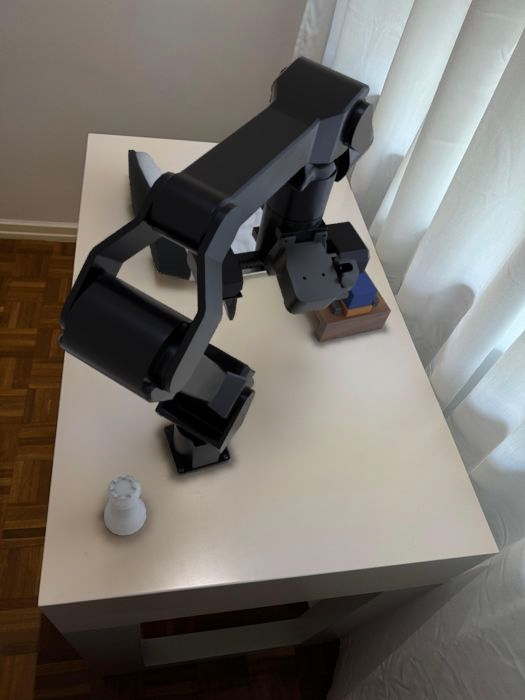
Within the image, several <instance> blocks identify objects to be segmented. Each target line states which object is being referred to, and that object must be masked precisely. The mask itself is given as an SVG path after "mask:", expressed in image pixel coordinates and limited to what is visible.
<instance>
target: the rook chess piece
mask: <svg viewBox="0 0 525 700" xmlns="http://www.w3.org/2000/svg"><path fill="white" fill-rule="evenodd" d="M140 495H141V485H140V482H139V481H138V480H137V479H136V478H135V477H134V476H130V475H128V474H120V475H118V476H116V477H114V478H112V480H110V481H109V483H108V485H107V488H106V496H107V499H108V502H107V503H106V505H105V508H104V514H103V521H104V524H105V526H106V528H107V529H108V530H109V531H110V532H111V533H112V534H116V535H118V536H130V535H133V534H135V533H137V532H138V531H140V529H141V528H142V527H143V526H144V524H145V521H146V519H147V509H146V505H145V503H144V501H143V499H142V498H140Z"/></svg>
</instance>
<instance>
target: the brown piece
mask: <svg viewBox="0 0 525 700" xmlns="http://www.w3.org/2000/svg"><path fill="white" fill-rule="evenodd" d="M365 272H366V273H367V271H366V270H365ZM367 275H368V276H369V274H368V273H367ZM369 278H370V280H371V281H372V283H373V284H374V282H373V280H372V279H371V277H370V276H369ZM374 286H375V287H376V289H377V290H378V288H377V286H376V285H375V284H374ZM371 305H372V309H371V311H370V312H367V313H363V314H358V315H353V316H349V317H345V315H344V313H343V311H342V310H341V309H342V308H341V306H340V305H339V303H338V301H337V300H334V301H333V302H332V303H331V304H330V305H328V306H327V307H326V308H325V309H322V310H314V311H313V312H314V313H315V315H316V317H317V319H318V320H319V325H318V328H317V330H316V333H315V336H316V338H317V340H318V342H319V343H323V342H327V341H331V340H337V339H340V338H344V337H348V336H354V335H357V334H362V333H366V332H372V331H375V330H380V329H383V327H384V326H385V324H386V322H387V320H388V318H389V316H390V314H391V312H392V309H391V308H390V307H389V305H388V303H387V302H386V300H385V299H384V297H383V296H382V294H381V293H380V291H379V290H378V291H377V293H376V295H375V298H374V300H373V302H372V304H371Z"/></svg>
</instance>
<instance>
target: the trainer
mask: <svg viewBox="0 0 525 700" xmlns="http://www.w3.org/2000/svg"><path fill="white" fill-rule="evenodd" d="M365 271H366V270H365ZM365 271H364V273H361V274H358V277H357V280H356V283H355V286H354V287H353V288H352V289H351V290H349V291H348V294H349V295H348V297H347V298H344V299H338V300H337V301H338V303H339V305H340V306H341V308H342V309H341V310H342V311H343V313H344V315H345V317H349V316H353V315H358V314H363V313H367V312H370V311H371V309H372V305H371V304H372V302H373V300H374V298H375V295H376V293H377V291H379V289H378V288H377V286H376V285H375V284H373V283H374V282H373V280H372V279H371V277H370V275H369V274H368V273H367V271H366V272H365ZM367 274H368V275H367ZM369 277H370V278H369ZM370 279H371V280H372V281H371V280H370ZM372 282H373V283H372ZM374 285H375V286H376V287H375V286H374ZM376 288H377V289H376Z"/></svg>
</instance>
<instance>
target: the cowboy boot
mask: <svg viewBox="0 0 525 700" xmlns="http://www.w3.org/2000/svg"><path fill="white" fill-rule="evenodd" d="M127 161H128V162H127V163H128V165H127V166H128V180H129V181H128V182H129V190H130V198H131V205H132V210H133V214H134V217H136V216H137V214H138V212H139V210H140V208H141V206H142V204H143V202H144V200H145V198H146V196H147V194H148V192H149V190H150V189H151V187H152V185H153V184H154V182H155V181H156V180H157V179H158V178H159V177H160V176H161V175H162V174H164V173H165V172H163V171H162V170H161V168H160V167H159V166H158V165H157V163H156V162H155V161H154V159H153V157H152V156H151V154H149V152H146V151H136V150H135V149H128V151H127ZM262 213H263V211H262V209H261V207H260V208H259V209H258V210H257V211H256V212H255V213H254V214H253V215H252V216H251V217H250V218H249V219H248V220H247V221H245V222H244V223H243V224H242V225H241V226H240V227H239V230H238V232H237V234H236V237H235V239H234V241H233V243H232V245H231V248H232V250H233V252H234V254H237V253H243V252H250V251H255V246H256V242H255V240H254V238H253V236H252V230H253V227H257V226H260V222H261V218H262ZM148 247H149V250H150V254H151V258H152V261H153V264H154V268H155V270H156V272H157V273H159V274H163V275H166V276H171V277H175V278H178V279H182V280H186V281H194V282H195V279H194V277H193V275H192V272H191V270H190V267H189V265H188V263H187V254H188V250H187V249H185V248H184V247H182V246H180V245H178V244H176V243H174V242H173V241H171V240H169V239H167V238H165V237H163V236H162V237H160V238H159V239H157V240H156V241H154V242H153V243H151V244H150V245H149V246H148Z"/></svg>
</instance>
